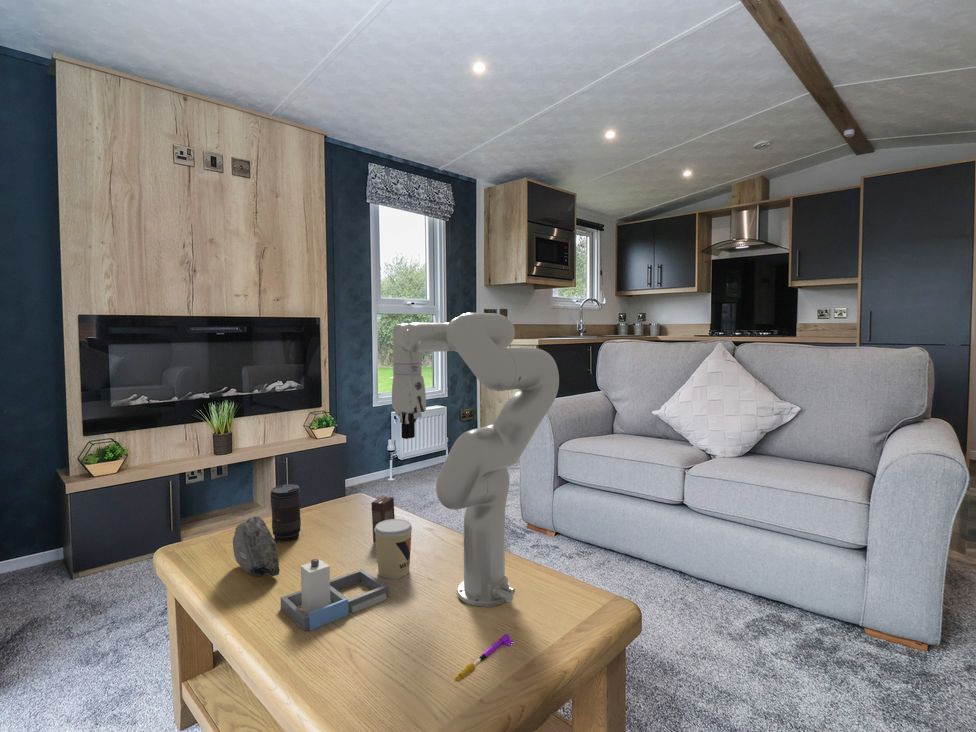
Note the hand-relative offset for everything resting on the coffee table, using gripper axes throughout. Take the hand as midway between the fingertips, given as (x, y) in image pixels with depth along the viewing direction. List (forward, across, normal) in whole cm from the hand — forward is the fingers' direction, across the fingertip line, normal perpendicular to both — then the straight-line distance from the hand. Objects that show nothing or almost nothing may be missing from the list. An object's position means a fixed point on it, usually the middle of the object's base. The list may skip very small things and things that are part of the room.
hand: (408, 437), depth 141 cm
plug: (+32, -10, +32) cm, 46 cm away
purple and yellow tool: (+33, -48, +16) cm, 60 cm away
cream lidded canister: (+32, -6, +9) cm, 34 cm away
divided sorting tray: (+32, -10, +27) cm, 43 cm away
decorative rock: (+32, +17, +35) cm, 51 cm away
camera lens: (+32, +34, +20) cm, 51 cm away
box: (+32, +13, 0) cm, 35 cm away
